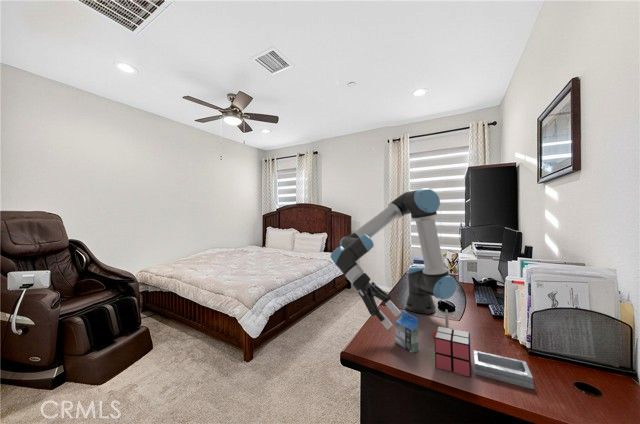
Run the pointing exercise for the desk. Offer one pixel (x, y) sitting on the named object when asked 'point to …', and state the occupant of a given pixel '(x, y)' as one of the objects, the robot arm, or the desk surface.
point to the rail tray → (503, 369)
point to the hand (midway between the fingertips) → (394, 320)
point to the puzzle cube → (453, 351)
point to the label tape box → (407, 332)
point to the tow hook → (445, 322)
